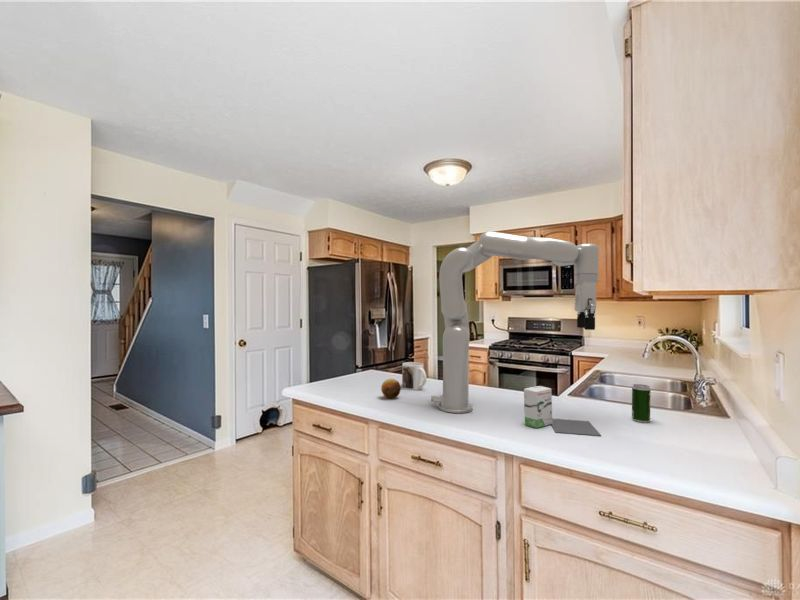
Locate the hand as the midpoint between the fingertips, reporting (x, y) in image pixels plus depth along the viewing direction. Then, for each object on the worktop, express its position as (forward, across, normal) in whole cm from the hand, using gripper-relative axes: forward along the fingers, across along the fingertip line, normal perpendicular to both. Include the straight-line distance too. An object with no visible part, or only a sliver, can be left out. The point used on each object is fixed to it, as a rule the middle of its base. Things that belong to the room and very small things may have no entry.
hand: (585, 328), depth 135 cm
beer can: (+31, -1, +18) cm, 36 cm away
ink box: (+31, +12, -17) cm, 37 cm away
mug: (+31, -30, -66) cm, 79 cm away
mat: (+31, +12, -6) cm, 34 cm away
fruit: (+31, -10, -72) cm, 79 cm away
